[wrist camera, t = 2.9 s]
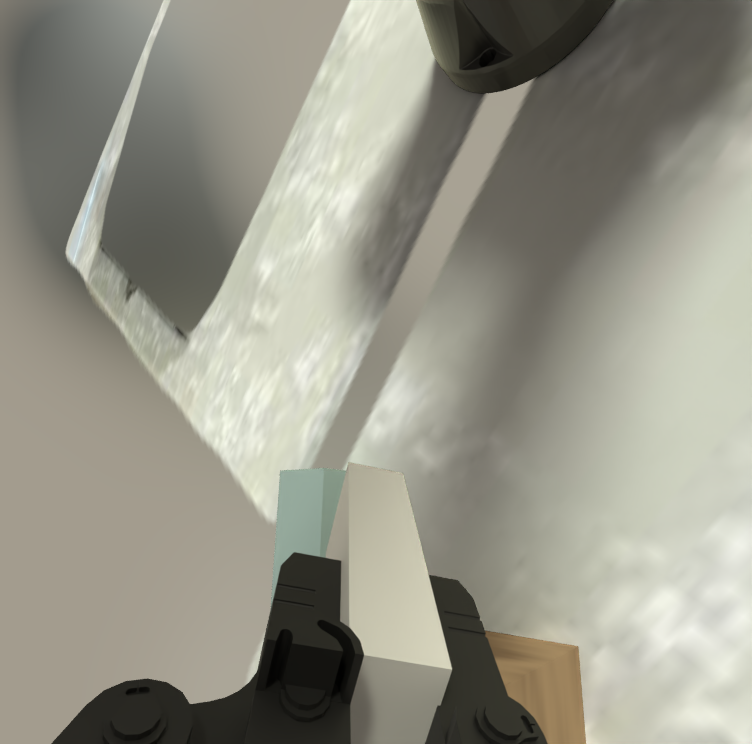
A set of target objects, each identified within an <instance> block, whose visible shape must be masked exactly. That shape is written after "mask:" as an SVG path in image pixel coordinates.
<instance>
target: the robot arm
mask: <svg viewBox="0 0 752 744" xmlns="http://www.w3.org/2000/svg"><path fill="white" fill-rule="evenodd" d="M612 1H613V0H416V2H417V5H418V8H419V11H420V14H421V17H422V20H423V24H424V27H425V30H426V33H427V36H428V39H429V42H430V46H431V49H432V52H433V54H434V56H435V58H436V60H437V62H438V63H439V65H440V66H441V68H442V69H443V70H444V71H445V72H446V74H447V75H448V76H449V77H450V79H451V80H452V81H453V82H454V83H455V84H456V85H457V86H459V87H460V88H462V89H464V90H467V91H470V92H474V93H493V92H498V91H503V90H507V89H510V88H513V87H516V86H518V85H520V84H523V83H525V82H527V81H529V80H531V79H533V78H535V77H537V76H538V75H540V74H542V73H543V72H545V71H546V70H548V69H549V68H551V67H552V66H554V65H555V64H556V63H558V62H559V61H560V60H561V59H563V58H564V57H565V56H566V55H568V54H569V53H570V52H571V51H572V50H573V49H574V48H575V47H576V46H577V45H578V44H579V43H580V42H581V41H582V40H583V39H584V38H585V37H586V36H587V35H588V34H589V33H590V31H591V30H592V29H593V28H594V27H595V26H596V24H597V23H598V22H599V20H600V19H601V18H602V16H603V15H604V13H605V12H606V11H607V9H608V7H609V6H610V4H611V3H612ZM485 634H486V633H485V630H484V627H483V625H482V622H481V621H480V616H479V613H478V611H477V608H476V605H475V602H474V600H473V598H472V596H471V595H470V594H469V593H468V592H467V591H466V589H465V588H464V587H463V586H462V585H461V583H460V582H459V581H458V580H453V579H447V578H442V577H437V576H431V575H428V571H427V567H426V563H425V559H424V555H423V551H422V547H421V543H420V539H419V535H418V531H417V527H416V523H415V519H414V515H413V511H412V507H411V503H410V499H409V495H408V491H407V487H406V483H405V479H404V475H403V473H398V472H394V471H389V470H384V469H379V468H374V467H369V466H365V465H360V464H355V463H350V462H348V466H347V470H346V474H345V478H344V482H343V486H342V490H341V494H340V498H339V502H338V506H337V510H336V514H335V518H334V522H333V526H332V530H331V534H330V538H329V542H328V546H327V550H326V558H324V557H319V556H313V555H308V554H302V553H297V552H294V553H293V554H292V555H291V556H290V557H289V558H288V559H287V560H286V561H285V562H284V563H283V564H282V565H281V567H280V572H279V576H278V580H277V585H276V589H275V593H274V598H273V602H272V606H271V611H270V616H269V620H268V624H267V628H266V633H265V638H264V642H263V647H262V652H261V656H260V661H259V666H258V670H257V673H256V674H255V675H254V677H253V678H252V679H251V681H250V682H249V683H248V684H247V685H245V686H244V687H243V688H242V689H241V690H239V691H238V692H236V693H234V694H232V695H230V696H228V697H225V698H222V699H218V700H214V701H210V702H203V703H197V704H189V702H188V700H187V699H186V697H185V696H184V694H183V692H181V691H180V690H178V689H176V688H175V687H173V686H172V685H170V684H169V683H167V682H162V681H157V680H152V679H140V680H133V681H125V682H123V683H120V684H118V685H116V686H114V687H111V688H109V689H106V690H104V691H103V692H102V693H100V694H99V695H98V696H97V697H96V698H94V699H93V700H92V701H91V702H89V703H88V704H87V705H86V706H85V707H84V708H83V709H82V710H81V711H80V713H79V714H78V715H77V716H76V717H75V718H74V719H73V720H72V721H71V723H70V724H69V725H68V726H67V727H66V728H65V729H64V730H63V732H62V733H61V734H60V735H59V736H58V737H57V738H56V739H55V740H54V741H53V743H52V744H548V743H547V741H546V738H545V736H544V733H543V732H542V730H541V728H540V727H539V725H538V723H537V721H536V720H535V718H534V717H533V716H532V715H531V714H530V713H529V712H528V711H527V710H526V709H525V708H524V707H523V706H522V705H521V704H520V703H518V702H517V701H515V700H514V699H512V698H511V697H509V696H508V694H507V691H506V688H505V685H504V683H503V680H502V677H501V674H500V672H499V669H498V666H497V663H496V660H495V658H494V655H493V652H492V649H491V647H490V644H489V641H488V638H487V637H485Z"/></svg>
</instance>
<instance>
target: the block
mask: <svg viewBox="0 0 752 744" xmlns="http://www.w3.org/2000/svg"><path fill="white" fill-rule="evenodd" d="M485 633H486V634H485V637H487V638H488V641H489V644H490V647H491V649H492V652H493V655H494V658H495V660H496V663H497V666H498V669H499V672H500V674H501V677H502V680H503V683H504V685H505V688H506V691H507V694H508V696H509V697H511V698H512V699H514V700H515V701H517V702H518V703H520V704H521V705H522V706H523V707H524V708H525V709H526V710H527V711H528V712H529V713H530V714H531V715H532V716H533V717H534V718H535V720H536V721H537V723H538V725H539V727H540V728H541V730H542V732H543V733H544V736H545V738H546V741H547V743H548V744H586V738H585V725H584V713H583V700H582V687H581V675H580V662H579V650H578V646H572V645H566V644H560V643H555V642H549V641H543V640H537V639H531V638H525V637H519V636H513V635H508V634H502V633H496V632H490V631H485Z"/></svg>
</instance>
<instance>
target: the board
mask: <svg viewBox="0 0 752 744" xmlns="http://www.w3.org/2000/svg"><path fill="white" fill-rule="evenodd" d="M345 474H346V471H344V470H335V469H327V468H318V469H301V470H284V471H280V482H279V497H278V511H277V525H276V540H275V555H274V569H273V584H272V597H271V606H272V602H273V598H274V593H275V589H276V585H277V580H278V576H279V572H280V567H281V565H282V564H283V563H284V562H285V561H286V560H287V559H288V558H289V557H290V556H291V555H292V554H293V553H294V552H297V553H302V554H308V555H313V556H319V557H324V558H326V550H327V546H328V542H329V538H330V534H331V530H332V526H333V522H334V518H335V514H336V510H337V506H338V502H339V498H340V494H341V490H342V486H343V482H344V478H345Z"/></svg>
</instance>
